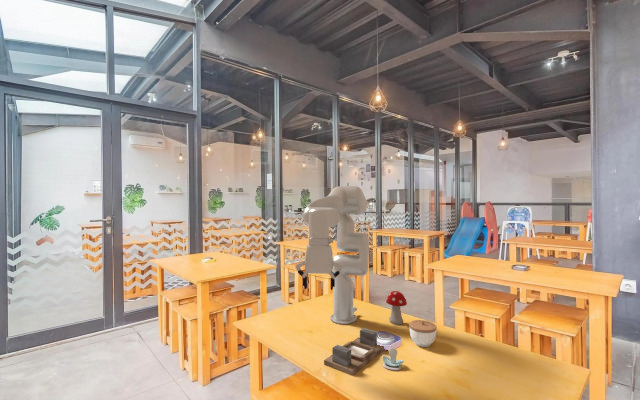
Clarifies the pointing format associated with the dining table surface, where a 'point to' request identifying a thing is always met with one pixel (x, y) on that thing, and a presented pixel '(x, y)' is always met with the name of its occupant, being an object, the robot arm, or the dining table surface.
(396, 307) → the decorative mushroom
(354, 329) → the dining table surface
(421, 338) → the lidded jar
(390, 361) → the pacifier
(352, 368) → the brown tray
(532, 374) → the dining table surface
